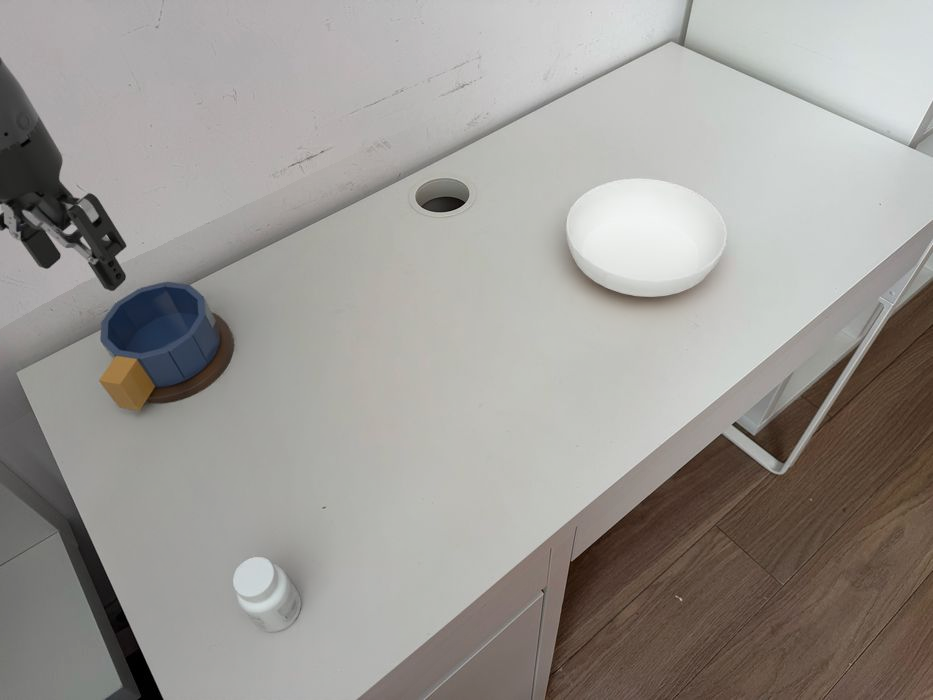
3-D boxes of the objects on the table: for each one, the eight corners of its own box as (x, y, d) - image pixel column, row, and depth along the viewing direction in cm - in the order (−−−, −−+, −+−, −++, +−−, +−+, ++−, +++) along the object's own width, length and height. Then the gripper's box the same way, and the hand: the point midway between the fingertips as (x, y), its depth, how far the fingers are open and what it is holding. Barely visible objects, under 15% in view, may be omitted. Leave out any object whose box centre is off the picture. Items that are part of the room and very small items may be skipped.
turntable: (138, 424, 77) (133, 418, 76) (102, 348, 85) (98, 342, 84) (252, 364, 82) (249, 358, 81) (209, 298, 90) (205, 291, 89)
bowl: (740, 247, 90) (752, 210, 86) (675, 341, 81) (685, 305, 76) (608, 197, 98) (612, 161, 94) (535, 277, 89) (536, 241, 84)
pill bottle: (297, 578, 65) (275, 543, 59) (305, 623, 62) (283, 591, 56) (250, 594, 64) (224, 560, 58) (256, 640, 61) (229, 609, 55)
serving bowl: (152, 307, 87) (134, 277, 83) (236, 319, 85) (221, 288, 81) (85, 403, 78) (61, 374, 73) (177, 419, 76) (157, 390, 71)
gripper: (-114, 134, 55) (2, 280, 67) (14, 170, 51) (112, 319, 63) (-37, 88, 59) (59, 233, 71) (87, 117, 55) (165, 266, 67)
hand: (83, 273), depth 67 cm, fingers open, 8 cm apart
